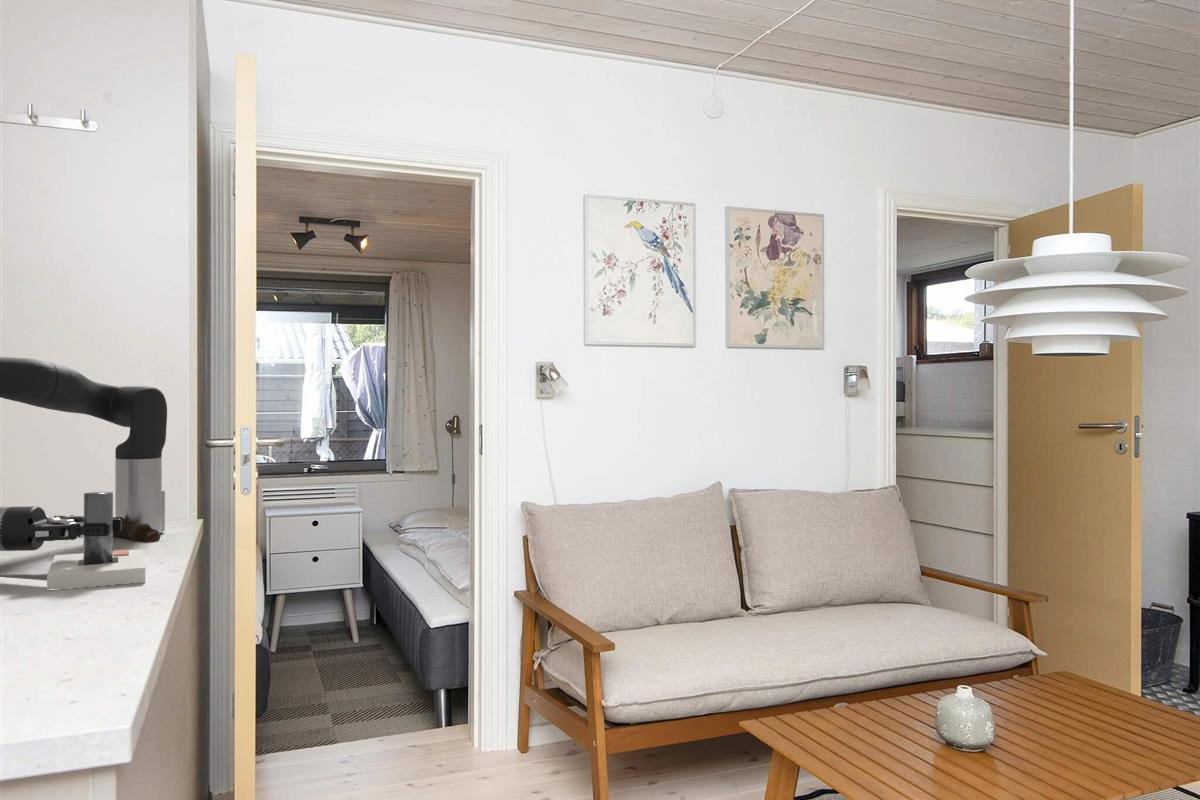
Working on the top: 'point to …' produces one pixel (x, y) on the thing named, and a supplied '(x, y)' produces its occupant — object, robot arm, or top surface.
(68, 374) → the robot arm
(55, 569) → the plate
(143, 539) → the bolt
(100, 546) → the cylinder
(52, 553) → the mat
